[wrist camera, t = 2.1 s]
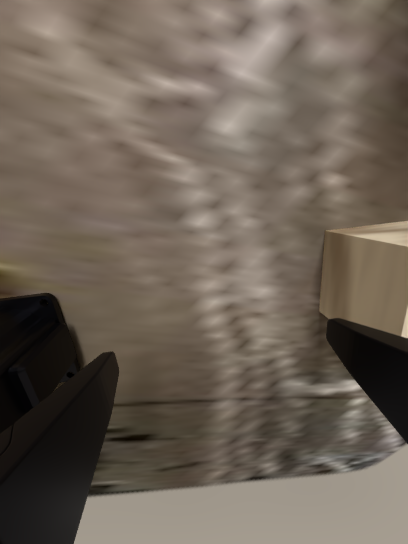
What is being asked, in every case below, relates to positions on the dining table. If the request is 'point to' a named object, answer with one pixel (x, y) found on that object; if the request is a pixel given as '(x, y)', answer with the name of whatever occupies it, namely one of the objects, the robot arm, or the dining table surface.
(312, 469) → the dining table surface
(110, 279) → the dining table surface
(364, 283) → the maple block
